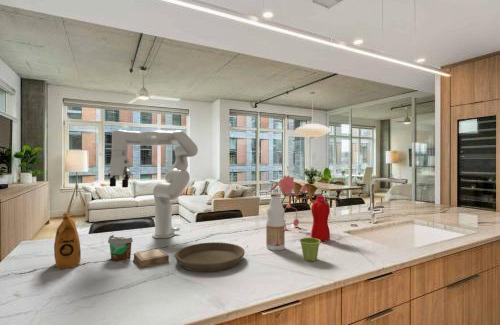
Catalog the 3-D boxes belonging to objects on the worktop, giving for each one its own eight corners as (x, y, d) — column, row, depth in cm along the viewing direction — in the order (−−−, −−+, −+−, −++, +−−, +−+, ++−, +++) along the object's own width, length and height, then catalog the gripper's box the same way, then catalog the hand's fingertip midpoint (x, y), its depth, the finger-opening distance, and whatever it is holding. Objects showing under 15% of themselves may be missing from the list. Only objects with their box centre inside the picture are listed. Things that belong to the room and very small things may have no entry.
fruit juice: (267, 251, 145) (267, 195, 145) (265, 245, 155) (265, 192, 154) (285, 250, 146) (286, 194, 145) (283, 245, 155) (283, 192, 155)
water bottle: (325, 243, 158) (325, 197, 157) (308, 239, 166) (308, 195, 166) (334, 240, 164) (335, 196, 163) (318, 236, 172) (318, 194, 172)
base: (160, 254, 139) (160, 248, 139) (168, 262, 130) (168, 255, 130) (133, 259, 132) (133, 252, 132) (141, 267, 123) (141, 260, 123)
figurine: (310, 227, 193) (309, 175, 194) (275, 231, 183) (274, 176, 184) (297, 223, 207) (296, 174, 208) (265, 227, 197) (264, 175, 198)
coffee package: (52, 271, 119) (51, 217, 119) (55, 261, 130) (54, 212, 130) (80, 266, 124) (80, 215, 124) (80, 258, 135) (80, 210, 134)
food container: (101, 259, 132) (101, 238, 132) (112, 255, 138) (112, 234, 138) (122, 263, 128) (122, 240, 128) (132, 259, 134) (132, 237, 133)
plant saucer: (170, 255, 140) (170, 245, 140) (231, 247, 152) (231, 238, 152) (182, 279, 111) (182, 268, 111) (255, 267, 123) (255, 257, 123)
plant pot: (308, 264, 127) (308, 244, 127) (295, 257, 135) (295, 239, 135) (324, 260, 131) (325, 241, 131) (311, 254, 140) (311, 236, 140)
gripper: (136, 154, 150) (136, 187, 150) (115, 154, 159) (114, 185, 159) (124, 153, 144) (123, 188, 144) (102, 153, 152) (101, 186, 152)
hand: (118, 186), depth 151 cm, fingers open, 9 cm apart
